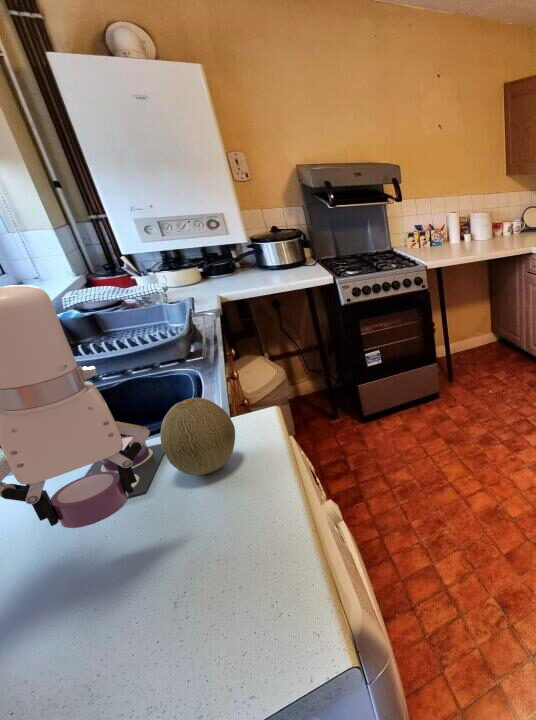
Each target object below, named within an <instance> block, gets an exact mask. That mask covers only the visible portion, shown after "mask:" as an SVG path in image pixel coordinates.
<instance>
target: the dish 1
mask: <svg viewBox="0 0 536 720" xmlns="http://www.w3.org/2000/svg"><path fill="white" fill-rule="evenodd" d="M128 500H129V498H128V494H127V492H126V489H125V487H124V485H123V482H122V480H121V477H120V475H119V474H118V473H116V472H111V471H107V472H99V473H94V474H91V475H87V476H85V475H84V476H82V477H79V478H77V479H74V480H72V481H70V482H69V483H67V484H65V485H64V486H62V487H61V488H59V489H58V490H57V491H55V492H54V494H53V495H52V496H51V497H50V503H51V506H52V508H53V510H54V512H55V514H56V516H57V518H58V521H59V522H58V523H59V524H60V525H61V527H63V528H66V529H78V528H84V527H87V526H88V527H89V526H91V525H94V524H97V523H99V522H101V521H104V520H105V519H107V518H109V517H111V516H113V515H114V514H115V513H117V512H118V511H120V509H122V508H123V507H124V506H125V505H126V504H127V502H128Z"/></svg>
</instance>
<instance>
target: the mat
mask: <svg viewBox="0 0 536 720" xmlns="http://www.w3.org/2000/svg"><path fill="white" fill-rule="evenodd" d="M147 447H148V449H149V452H150V454H149V456H148V457H147V458H146V459H145V460H144V461H142V462H141V463H139V464H137V465H135V466H133V467H131V468H132V470H133V473H134V475H135V478H136V480H137V482H135V483H133V484H131V485H132V488H133V490H134V492H132V493H130V494H129V493H127V494H128V499H131V498H134V497H135V498H136V497H138V496H143V495H147V493H148V490H149V488H150V486H151V484H152V482H153V479H154V478H155V475H156V473H157V471H158V469H159V467H160V464H161V462H162V460H163V458H164V456H165V453H164V451H163V449H162V445H161V443H158V444H154V445H149V446H147ZM99 472H107V470H106V469H105V468H104V466H103V463H102V461H101V460H100V461H98V462H95V463H92V464H91V466H90V467H89V469H88V471H87V472H86V474H84V476H87V475H91V474H94V473H99ZM111 472H116V473H118V471H111ZM118 474H119V473H118Z"/></svg>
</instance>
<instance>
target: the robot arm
mask: <svg viewBox="0 0 536 720" xmlns="http://www.w3.org/2000/svg"><path fill="white" fill-rule="evenodd" d="M75 358H76V357H75V356H74V353H73V351H72V348H71V345H70V344H69V341H68V338H67V336H66V334H65V331H64V329H63V326H62V324H61V322H60V319H59V316H58V314H57V312H56V309H55V306H54V304H53V301H52V299H51V298H50V296H49V294H48V293H47V292H46V291H45V290H44V289H42V288H40V287H39V286H34V285H26V284H24V285H23V284H17V285H4V286H0V447H1V450H2V453H3V455H4V457H3V458H2V459H1V460H0V498H2V499H4V500H10V501H17V502H25V503H26V504H27V505H31V506H32V508H33V510H34V511H35V514H36V516H37V517H38V520H39V521H40V522H41V521H44V520H46V519H47V520H48V523H49V524H50V527H53V526H56V525H58V523H60V522H59V520H58V518H57V516H56V514H55V512H54V510H53V508H52V506H51V503H50V500H51V497H50V496H49V494H48V492H47V490H46V489H45V490H44V487H45V484H46V481H48V480H50V479H54V478H57V477H58V476H62V475H64V474H67V473H69V472H72V471H75V470H78V469H81V468H84V467H86V466H88V465H89V466H90V465H93V463H95V462H98V461H100V460H103V459H106V458H107V459H109V460H110V461H112V462H114V463H116V464H115V466H116V468H117V471H118V473H119V475H120V477H121V480H122V482H123V485H124V487H125V489H126V492H127V493H129V494H130V493H132V492H134V490H133V488H132V485H131V484H133V483H135V482H137V480H136V478H135V475H134V473H133V470H132V468H131V465H132V463H133V462H132V461H133V460H134V458H135V457H136V456H137V454H138V453H139V451H140V450H141V448H142V445H143V443H144V442H146V440H147V439H148V437H149V435H150V434H151V431H150V430H149V427H147V426H143V425H138V424H133V423H128V422H122V421H117V420H115V418H114V416H113V414H112V411H111V409H110V408H109V407H108V404H107V402H106V400H105V399H104V396H103V395H102V394H101V392H100V391H99V389H98V388H97V387H96V385H95V384H94V383H93V382H91V381H88V380H89V379H92V378H93V377H97V376H99V373H98V372H97V369H96V367H95V365H91V366H82V365H78V363H77V360H76V359H75ZM122 435H124V436H133V438H132V440H131V441H130V442H129V443H128V445H127V446H126V447H125V449H124V450H122V448H123V441H122V438H123V437H122ZM10 473H12V475H13V477H14V478H15V481H17V482H18V483H19V484H16V483H6V482H3V481H4V480H5V478H6V477H7V476H8V475H9V474H10Z"/></svg>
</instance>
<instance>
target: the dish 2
mask: <svg viewBox="0 0 536 720" xmlns="http://www.w3.org/2000/svg"><path fill="white" fill-rule="evenodd" d="M121 438H122V441H123V448H122V450H124V449H125V447H126V446H127V445H128V443H129V442H130V441H131V440H132V438H133V436H130V435H126V436H122V437H121ZM148 447H149V446H148V444H147V442H146V441H145V442H144V443H143V445H142V448H141V450H140V451H139V453H138V454H137V456H136V457H135V458H134V460H133V461H132V462H133V463H132V465H131V467H133V466H135V465H137V464H139V463H141V462H142V461H144V460H145V459H146V458H147V457H148V456H149V454H150V452H149V449H148ZM101 461H102V463H103V466H104V468H105V469H106V470H107V471H117V468H116V466H115V464H116V463H114V462H112V461H110V460H109V459H107V458H106V459H103V460H101Z"/></svg>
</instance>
